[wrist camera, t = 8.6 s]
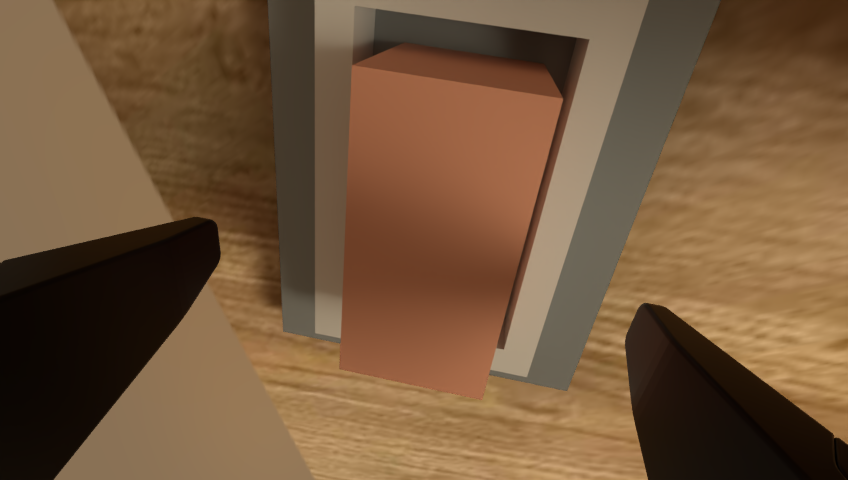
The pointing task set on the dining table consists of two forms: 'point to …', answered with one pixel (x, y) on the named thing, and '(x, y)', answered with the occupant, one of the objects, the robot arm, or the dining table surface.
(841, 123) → the dining table surface
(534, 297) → the pocket board
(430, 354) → the block
